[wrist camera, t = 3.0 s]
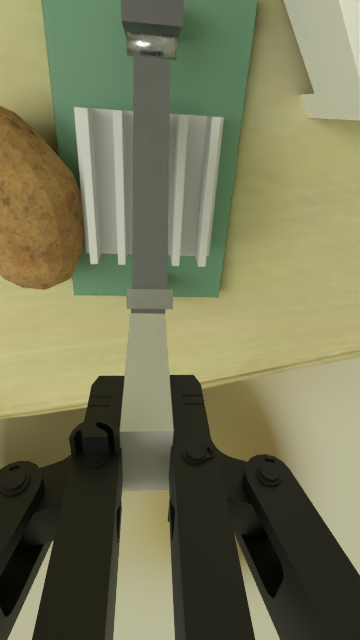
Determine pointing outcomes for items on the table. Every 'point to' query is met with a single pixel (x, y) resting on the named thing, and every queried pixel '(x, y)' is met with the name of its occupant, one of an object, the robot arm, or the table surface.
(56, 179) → the potato
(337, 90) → the paper towel holder
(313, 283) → the table surface
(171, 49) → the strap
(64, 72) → the heatsink board
